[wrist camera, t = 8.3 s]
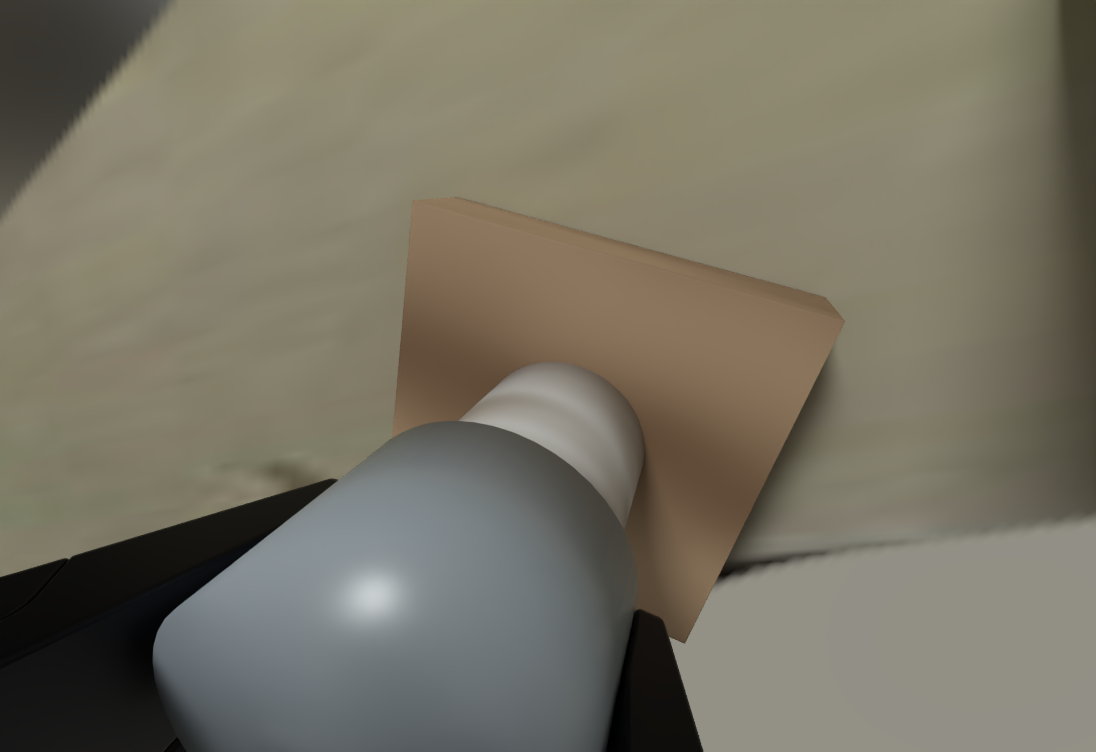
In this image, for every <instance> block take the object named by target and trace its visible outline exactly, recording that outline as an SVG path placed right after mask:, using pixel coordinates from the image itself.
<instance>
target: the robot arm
mask: <svg viewBox="0 0 1096 752" xmlns="http://www.w3.org/2000/svg"><path fill="white" fill-rule="evenodd" d="M337 481H338V480H337V479H327V480H324V481H320V482H317V483H314V484H310V485H307V486H304V487H300V488H297V489H294V490H290V491H287V492H284V493H281V494H277V495H274V496H271V497H267V498H264V499H261V500H257V501H254V502H251V503H247V504H244V505H241V506H237V507H234V508H231V509H227V510H224V511H221V512H217V513H214V514H211V515H207V516H204V517H201V518H197V519H194V520H191V521H187V522H184V523H181V524H177V525H174V526H171V527H167V528H164V529H161V530H157V531H154V532H151V533H147V534H144V535H141V536H137V537H134V538H131V539H127V540H124V541H121V542H117V543H114V544H111V545H107V546H104V547H101V548H97V549H94V550H91V551H87V552H84V553H81V554H77V555H74V556H72V557H71V558H70V559H67V558H64V559H60V560H57V561H53V562H50V563H47V564H43V565H40V566H37V567H33V568H30V569H27V570H23V571H20V572H16V573H13V574H9V575H6V576H2V577H0V752H186V750H185V748H184V747H183V745H182V743H181V742H180V740H179V739H178V737H177V735H176V733H175V731H174V729H173V727H172V725H171V723H170V721H169V719H168V717H167V715H166V713H165V710H164V708H163V705H162V703H161V700H160V697H159V694H158V690H157V686H156V682H155V677H154V669H153V646H154V642H155V639H156V635H157V632H158V630H159V628H160V626H161V625H162V623H163V621H164V620H165V618H166V617H167V616H168V615H169V614H170V613H171V612H172V611H174V610H175V609H176V608H177V607H178V606H179V605H181V604H182V603H183V602H184V601H186V600H187V599H188V598H189V597H191V596H192V595H193V594H195V593H196V592H197V591H198V590H200V589H201V588H202V587H203V586H205V585H206V584H207V583H209V582H210V581H211V580H212V579H214V578H215V577H216V576H217V575H219V574H220V573H221V572H223V571H224V570H225V569H226V568H228V567H229V566H230V565H231V564H233V563H234V562H235V561H237V560H238V559H239V558H240V557H242V556H243V555H244V554H245V553H247V552H248V551H249V550H250V549H252V548H253V547H254V546H256V545H257V544H258V543H259V542H261V541H262V540H263V539H264V538H266V537H267V536H268V535H270V534H271V533H272V532H273V531H275V530H276V529H277V528H278V527H280V526H281V525H282V524H284V523H285V522H286V521H287V520H289V519H290V518H291V517H292V516H294V515H295V514H296V513H298V512H299V511H300V510H301V509H303V508H304V507H305V506H306V505H308V504H309V503H310V502H311V501H313V500H314V499H315V498H317V497H318V496H319V495H320V494H322V493H323V492H324V491H325V490H327V489H328V488H329V487H331V486H332V485H333V484H334V483H336V482H337ZM606 752H703V748H702V745H701V742H700V739H699V735H698V732H697V729H696V725H695V722H694V719H693V715H692V712H691V709H690V705H689V702H688V699H687V695H686V693H685V689H684V685H683V682H682V679H681V676H680V672H679V669H678V666H677V662H676V659H675V656H674V653H673V649H672V646H671V642H670V639H669V636H668V632H667V629H666V626H665V623H664V621H663V619H662V618H661V617H659V616H657V615H654V614H652V613H650V612H647V611H645V610H643V609H637V610H636V611H635V613H634V618H633V623H632V628H631V633H630V638H629V642H628V647H627V652H626V657H625V662H624V667H623V671H622V676H621V681H620V686H619V691H618V696H617V701H616V707H615V712H614V716H613V721H612V726H611V731H610V736H609V741H608V746H607V750H606Z"/></svg>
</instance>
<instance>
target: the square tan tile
mask: <svg viewBox="0 0 1096 752" xmlns="http://www.w3.org/2000/svg"><path fill="white" fill-rule="evenodd" d="M844 322H845V320H844V319H843V318H842V317H841V316H840V314H839V313H838V312H837V311H836V309H835V308H834V307H833V306H832V305H831V303H830V302H829V301H828V300H827V299H826V297H822V296H818V295H815V294H811V293H807V292H804V291H800V290H796V289H793V288H789V287H785V286H782V285H778V284H774V283H770V282H767V281H763V280H759V279H756V278H752V277H748V276H745V275H741V274H737V273H734V272H730V271H726V270H723V269H719V268H715V267H712V266H708V265H704V264H700V263H697V262H693V261H689V260H686V259H682V258H678V257H675V256H671V255H667V254H664V253H660V252H656V251H653V250H649V249H645V248H642V247H638V246H634V245H630V244H627V243H623V242H619V241H616V240H612V239H608V238H605V237H601V236H597V235H594V234H590V233H586V232H583V231H579V230H575V229H572V228H568V227H564V226H560V225H557V224H553V223H549V222H546V221H542V220H538V219H535V218H531V217H527V216H524V215H520V214H516V213H513V212H509V211H505V210H502V209H498V208H494V207H490V206H487V205H483V204H479V203H476V202H472V201H468V200H465V199H461V198H457V197H454V198H441V199H428V200H415V201H413V204H412V216H411V227H410V239H409V251H408V262H407V274H406V286H405V297H404V309H403V321H402V332H401V344H400V356H399V367H398V379H397V391H396V402H395V414H394V426H393V437H392V438H394V437H395V436H397V435H399V434H400V433H402V432H404V431H406V430H409V429H411V428H414V427H416V426H420V425H424V424H429V423H433V422H443V421H465V422H476V423H481V424H486V425H491V426H495V427H499V428H502V429H505V430H508V431H511V432H514V433H516V434H519V435H521V436H523V437H525V438H528V439H530V440H532V441H534V442H536V443H538V444H540V445H541V446H543V447H545V448H546V449H548V450H550V451H552V452H553V453H555V454H556V455H558V456H559V457H560V458H562V459H563V460H564V461H566V462H567V463H568V464H570V465H571V466H572V467H574V468H575V469H576V470H577V471H578V472H579V473H580V474H581V475H582V476H584V477H585V478H586V479H587V480H588V481H589V482H590V483H591V484H592V485H593V486H594V488H595V489H596V490H597V491H598V492H599V493H600V495H601V496H602V497H603V498H604V499H605V500H606V502H607V503H608V505H609V506H610V508H611V509H612V511H613V512H614V514H615V515H616V517H617V518H618V520H619V522H620V524H621V526H622V528H623V530H624V532H625V534H626V535H627V538H628V540H629V543H630V546H631V549H632V552H633V555H634V559H635V564H636V569H637V575H638V596H637V603H636V609H635V611H636V610H637V609H643V610H645V611H647V612H650V613H652V614H654V615H657V616H659V617H661V618H662V619H663V621H664V623H665V626H666V629H667V632H668V636H669V637H671V638H673V639H675V640H678V641H680V642H682V643H685V642H686V640H687V638H688V636H689V634H690V632H691V630H692V628H693V626H694V624H695V622H696V620H697V618H698V616H699V614H700V612H701V610H702V608H703V606H704V604H705V602H706V600H707V598H708V596H709V594H710V592H711V590H712V588H713V586H714V584H715V582H716V580H717V578H718V576H719V574H720V572H721V570H722V568H723V566H724V564H725V562H726V560H727V558H728V556H729V554H730V552H731V550H732V548H733V546H734V544H735V542H736V540H737V538H738V536H739V534H740V532H741V530H742V528H743V526H744V524H745V522H746V520H747V518H748V516H749V514H750V512H751V510H752V508H753V505H754V503H755V501H756V499H757V497H758V495H759V493H760V491H761V489H762V487H763V485H764V483H765V481H766V479H767V477H768V475H769V473H770V471H771V469H772V467H773V465H774V463H775V461H776V459H777V457H778V455H779V453H780V451H781V449H782V447H783V445H784V443H785V441H786V439H787V437H788V435H789V433H790V431H791V429H792V427H793V425H794V423H795V421H796V419H797V417H798V415H799V413H800V411H801V409H802V407H803V405H804V403H805V401H806V399H807V397H808V395H809V393H810V391H811V389H812V387H813V385H814V383H815V381H816V379H817V377H818V375H819V373H820V371H821V369H822V367H823V365H824V363H825V361H826V359H827V357H828V355H829V353H830V351H831V349H832V347H833V345H834V343H835V341H836V339H837V337H838V335H839V333H840V331H841V328H842V326H843V324H844Z"/></svg>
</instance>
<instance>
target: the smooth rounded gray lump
mask: <svg viewBox="0 0 1096 752" xmlns="http://www.w3.org/2000/svg"><path fill="white" fill-rule="evenodd" d="M637 596H638V575H637V569H636V564H635V559H634V555H633V552H632V549H631V546H630V543H629V540H628V538H627V535H626V534H625V532H624V530H623V528H622V526H621V524H620V522H619V520H618V518H617V517H616V515H615V514H614V512H613V511H612V509H611V508H610V506H609V505H608V503H607V502H606V500H605V499H604V498H603V497H602V496H601V495H600V493H599V492H598V491H597V490H596V489H595V488H594V486H593V485H592V484H591V483H590V482H589V481H588V480H587V479H586V478H585V477H584V476H582V475H581V474H580V473H579V472H578V471H577V470H576V469H575V468H574V467H572V466H571V465H570V464H568V463H567V462H566V461H564V460H563V459H562V458H560V457H559V456H558V455H556V454H555V453H553V452H552V451H550V450H548V449H546V448H545V447H543V446H541V445H540V444H538V443H536V442H534V441H532V440H530V439H528V438H525V437H523V436H521V435H519V434H516V433H514V432H511V431H508V430H505V429H502V428H499V427H495V426H491V425H486V424H481V423H476V422H465V421H443V422H433V423H429V424H424V425H420V426H416V427H414V428H411V429H409V430H406V431H404V432H402V433H400V434H399V435H397V436H395V437H394V438H392V439H390V440H389V441H388V442H386V443H385V444H384V445H383V446H381V447H380V448H379V449H378V450H376V451H375V452H374V453H373V454H371V455H370V456H369V457H367V458H366V459H365V460H364V461H362V462H361V463H360V464H359V465H357V466H356V467H355V468H353V469H352V470H351V471H350V472H348V473H347V474H346V475H345V476H343V477H342V478H341V479H339V480H338V481H337V482H336V483H334V484H333V485H332V486H331V487H329V488H328V489H327V490H325V491H324V492H323V493H322V494H320V495H319V496H318V497H317V498H315V499H314V500H313V501H311V502H310V503H309V504H308V505H306V506H305V507H304V508H303V509H301V510H300V511H299V512H298V513H296V514H295V515H294V516H292V517H291V518H290V519H289V520H287V521H286V522H285V523H284V524H282V525H281V526H280V527H278V528H277V529H276V530H275V531H273V532H272V533H271V534H270V535H268V536H267V537H266V538H264V539H263V540H262V541H261V542H259V543H258V544H257V545H256V546H254V547H253V548H252V549H250V550H249V551H248V552H247V553H245V554H244V555H243V556H242V557H240V558H239V559H238V560H237V561H235V562H234V563H233V564H231V565H230V566H229V567H228V568H226V569H225V570H224V571H223V572H221V573H220V574H219V575H217V576H216V577H215V578H214V579H212V580H211V581H210V582H209V583H207V584H206V585H205V586H203V587H202V588H201V589H200V590H198V591H197V592H196V593H195V594H193V595H192V596H191V597H189V598H188V599H187V600H186V601H184V602H183V603H182V604H181V605H179V606H178V607H177V608H176V609H175V610H174V611H172V612H171V613H170V614H169V615H168V616H167V617H166V618H165V620H164V621H163V623H162V625H161V626H160V628H159V630H158V632H157V635H156V639H155V642H154V646H153V669H154V677H155V682H156V686H157V690H158V694H159V697H160V700H161V703H162V705H163V708H164V710H165V713H166V715H167V717H168V719H169V721H170V723H171V725H172V727H173V729H174V731H175V733H176V735H177V737H178V739H179V740H180V742H181V743H182V745H183V747H184V748H185V750H186V752H606V750H607V746H608V741H609V736H610V731H611V726H612V721H613V716H614V712H615V707H616V701H617V696H618V691H619V686H620V681H621V676H622V671H623V667H624V662H625V657H626V652H627V647H628V642H629V638H630V633H631V628H632V623H633V618H634V613H635V609H636V603H637Z"/></svg>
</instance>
